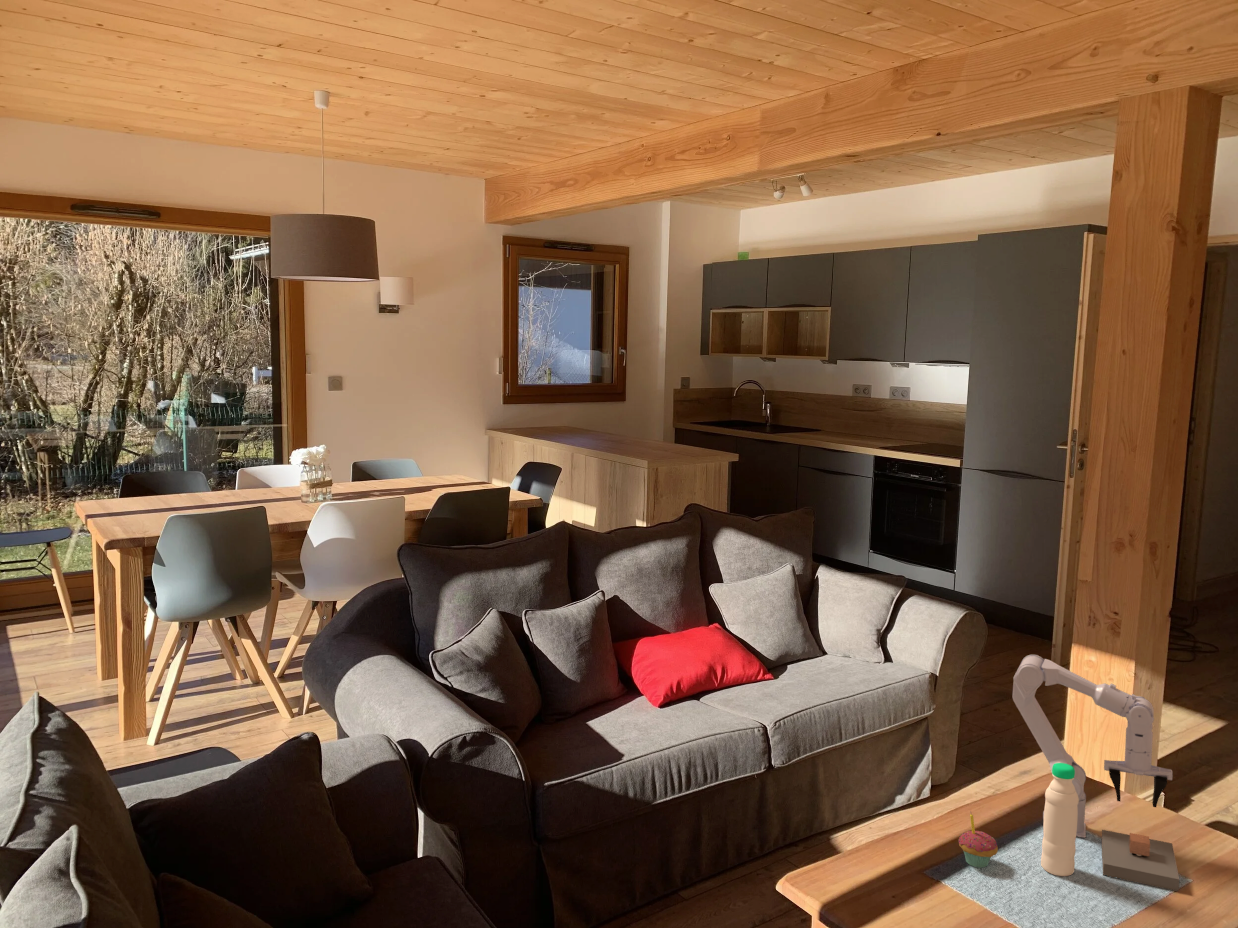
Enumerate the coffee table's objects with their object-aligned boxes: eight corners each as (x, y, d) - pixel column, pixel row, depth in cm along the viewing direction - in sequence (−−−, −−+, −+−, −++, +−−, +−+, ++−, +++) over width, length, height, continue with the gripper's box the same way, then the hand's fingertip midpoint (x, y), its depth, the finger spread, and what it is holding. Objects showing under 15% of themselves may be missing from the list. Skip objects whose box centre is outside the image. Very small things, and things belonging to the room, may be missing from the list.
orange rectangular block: (1128, 865, 223) (1130, 840, 222) (1127, 857, 227) (1129, 832, 226) (1148, 869, 221) (1150, 843, 221) (1147, 861, 225) (1148, 836, 224)
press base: (1102, 874, 219) (1103, 863, 219) (1101, 840, 235) (1102, 829, 235) (1178, 891, 213) (1179, 879, 212) (1171, 854, 229) (1172, 843, 229)
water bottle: (1077, 879, 217) (1084, 773, 215) (1044, 875, 219) (1051, 770, 216) (1069, 863, 224) (1076, 760, 222) (1037, 859, 226) (1043, 758, 223)
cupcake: (955, 865, 222) (957, 816, 221) (960, 849, 230) (963, 801, 229) (994, 875, 218) (997, 825, 217) (998, 858, 226) (1001, 810, 225)
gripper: (1105, 749, 231) (1103, 803, 232) (1174, 759, 225) (1172, 814, 226) (1104, 739, 238) (1102, 792, 239) (1171, 748, 231) (1169, 802, 233)
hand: (1136, 802), depth 233 cm, fingers open, 7 cm apart
